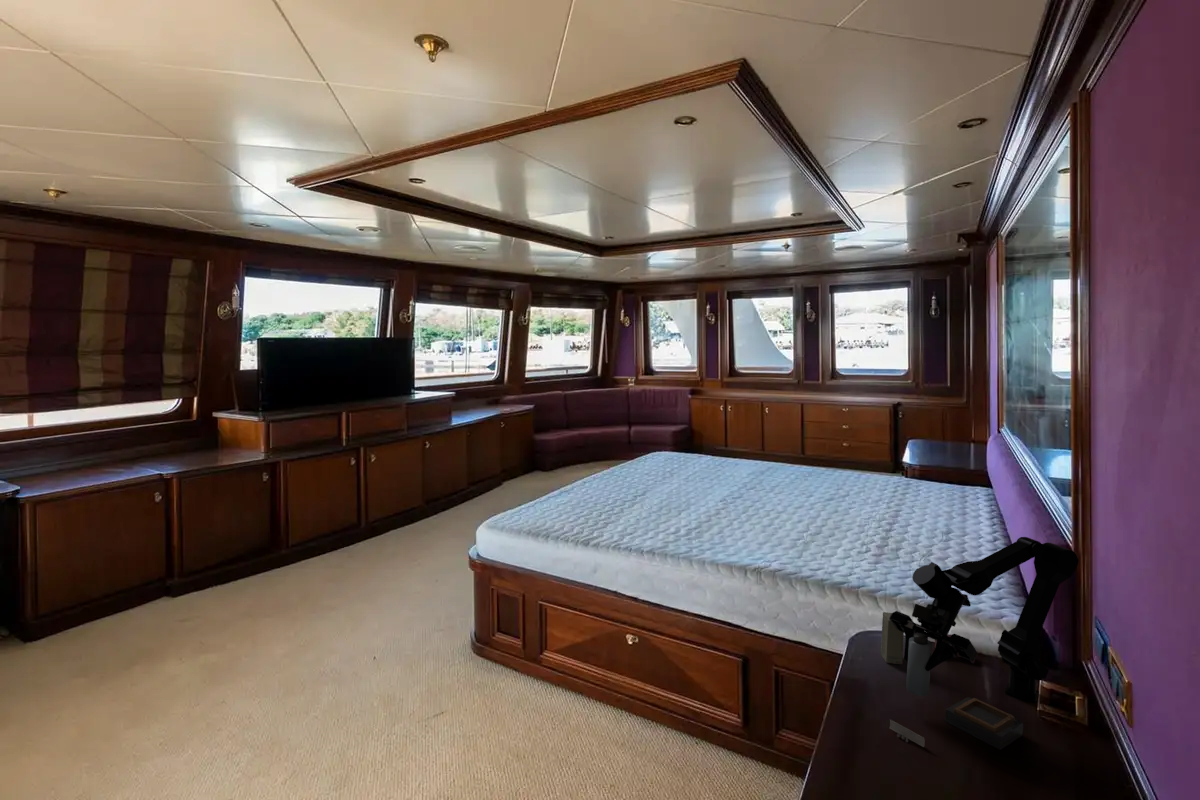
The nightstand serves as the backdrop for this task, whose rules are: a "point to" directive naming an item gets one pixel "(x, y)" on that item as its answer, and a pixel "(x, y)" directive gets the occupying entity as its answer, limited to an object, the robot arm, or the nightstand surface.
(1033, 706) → the nightstand surface
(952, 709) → the grey rectangular box
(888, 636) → the skincare box
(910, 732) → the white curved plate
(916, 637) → the white capped bottle
